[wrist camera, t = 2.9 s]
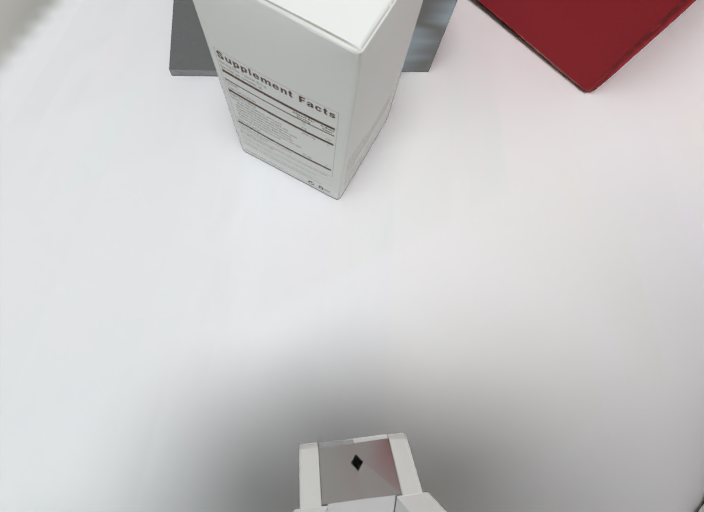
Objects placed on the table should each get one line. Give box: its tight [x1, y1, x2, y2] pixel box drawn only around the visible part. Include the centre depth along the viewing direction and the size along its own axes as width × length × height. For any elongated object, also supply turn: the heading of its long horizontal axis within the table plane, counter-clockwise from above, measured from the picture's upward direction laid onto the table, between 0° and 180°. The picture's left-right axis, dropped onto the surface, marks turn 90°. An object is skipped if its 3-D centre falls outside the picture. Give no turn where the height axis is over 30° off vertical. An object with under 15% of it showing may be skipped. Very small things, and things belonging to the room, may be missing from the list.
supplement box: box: [193, 0, 423, 199], centre depth 23 cm, size 9×9×15 cm
